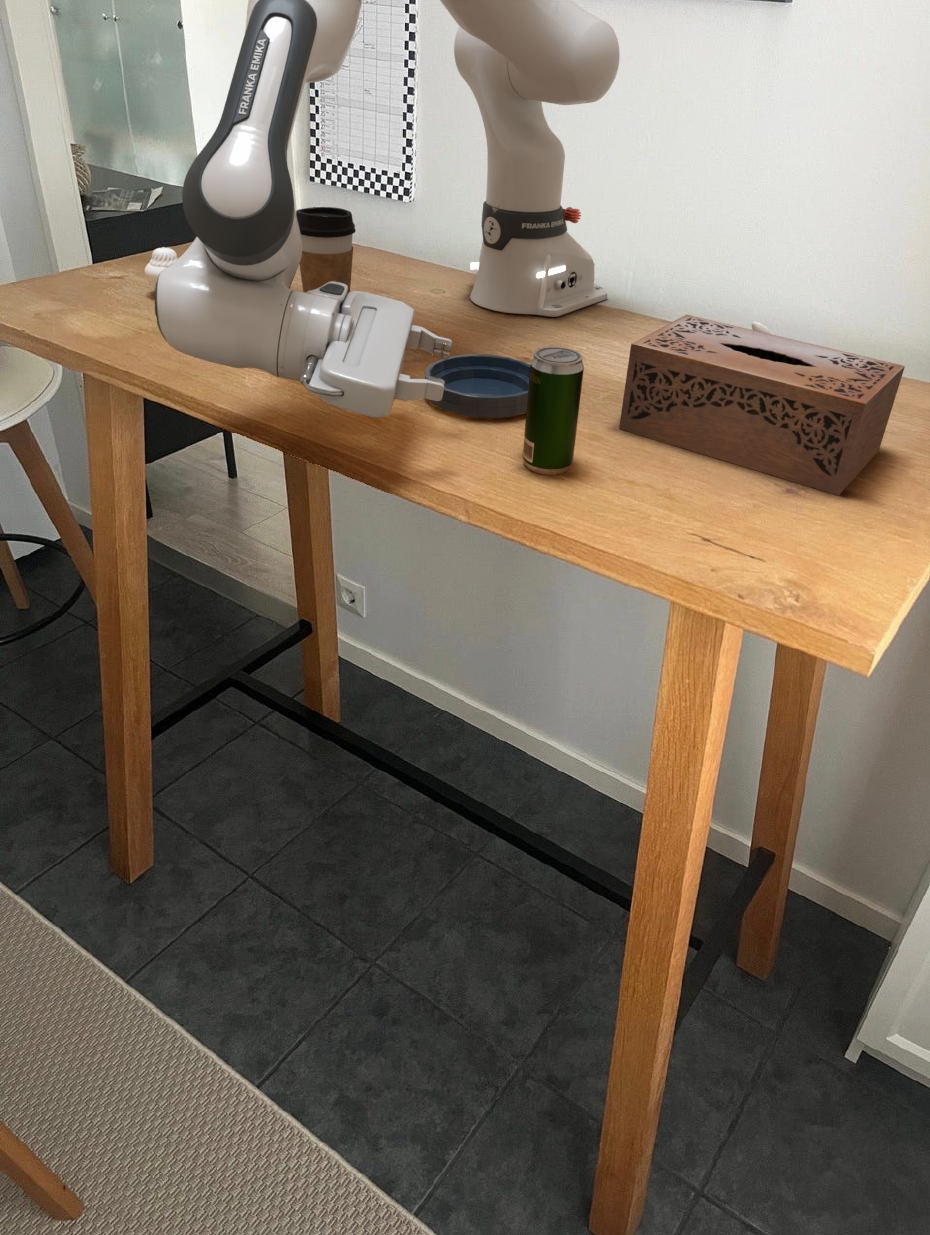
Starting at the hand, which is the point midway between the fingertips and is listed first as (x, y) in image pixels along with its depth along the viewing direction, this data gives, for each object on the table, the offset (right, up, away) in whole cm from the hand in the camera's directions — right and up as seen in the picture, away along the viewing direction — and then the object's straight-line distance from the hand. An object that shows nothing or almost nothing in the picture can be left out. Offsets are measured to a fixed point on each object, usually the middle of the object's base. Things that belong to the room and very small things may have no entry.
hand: (447, 369), depth 102 cm
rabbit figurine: (+43, +8, +32) cm, 54 cm away
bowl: (+4, +1, +18) cm, 18 cm away
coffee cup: (-18, +17, +40) cm, 47 cm away
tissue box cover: (+34, -5, +11) cm, 36 cm away
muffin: (-43, +23, +46) cm, 67 cm away
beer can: (+11, -10, +3) cm, 15 cm away
